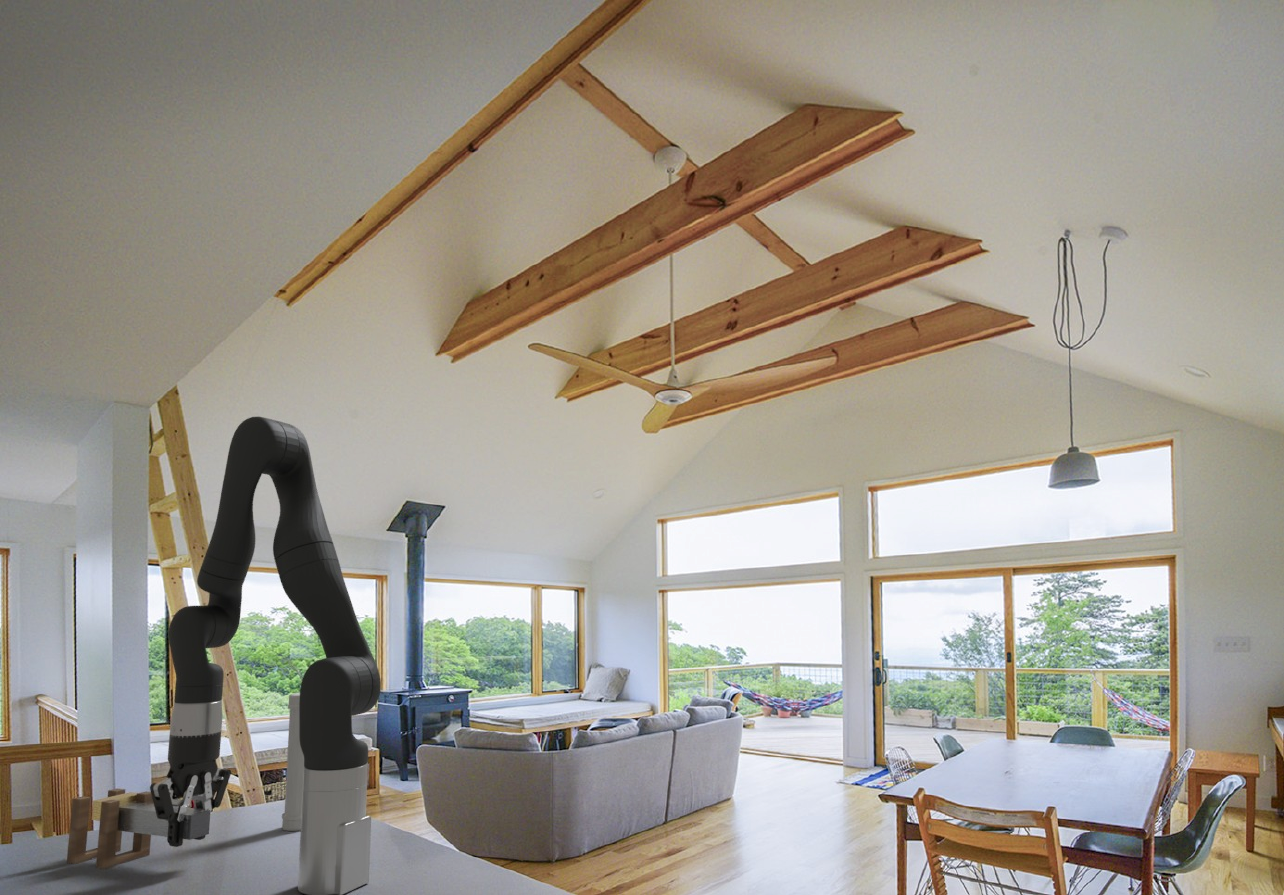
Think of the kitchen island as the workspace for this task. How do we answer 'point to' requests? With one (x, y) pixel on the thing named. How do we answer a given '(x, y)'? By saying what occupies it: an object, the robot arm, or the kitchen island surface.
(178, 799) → the robot arm
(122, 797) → the spacer
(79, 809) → the brown wooden frame
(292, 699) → the pipe
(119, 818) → the shaft
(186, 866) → the kitchen island surface
